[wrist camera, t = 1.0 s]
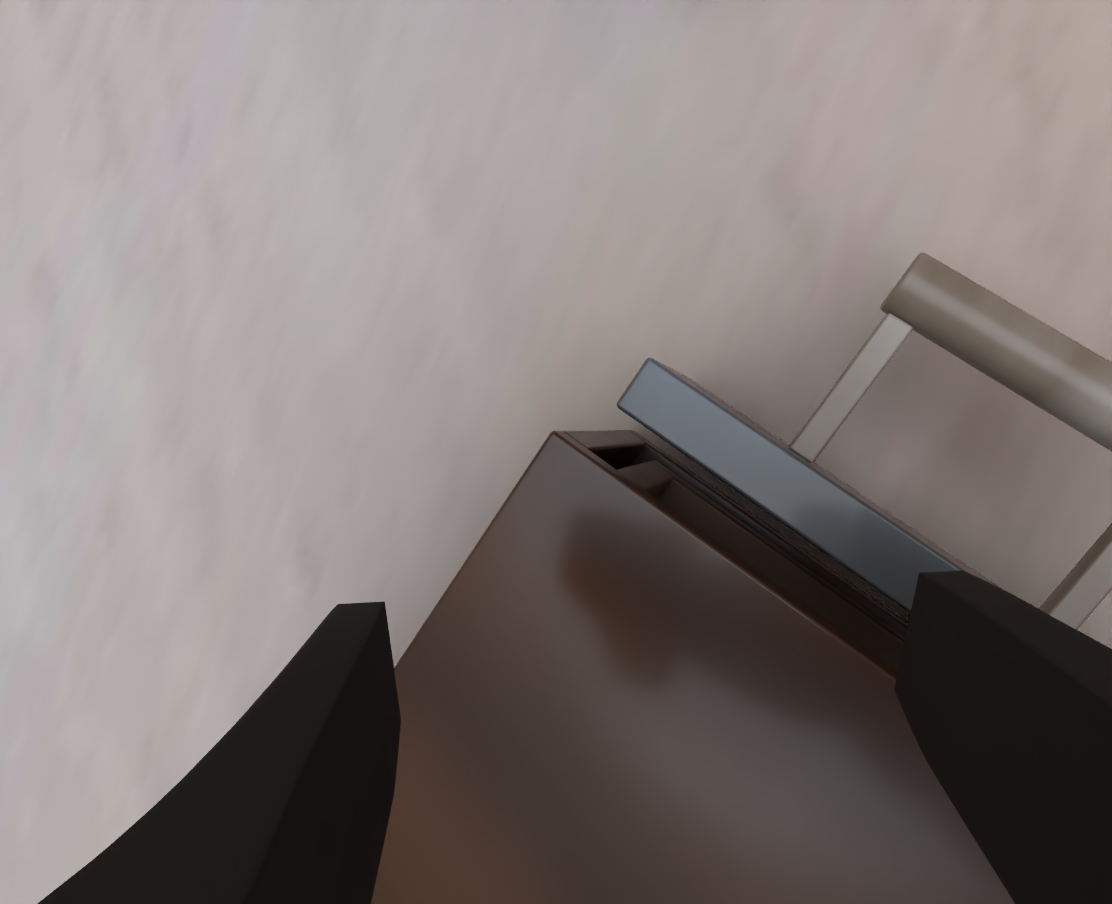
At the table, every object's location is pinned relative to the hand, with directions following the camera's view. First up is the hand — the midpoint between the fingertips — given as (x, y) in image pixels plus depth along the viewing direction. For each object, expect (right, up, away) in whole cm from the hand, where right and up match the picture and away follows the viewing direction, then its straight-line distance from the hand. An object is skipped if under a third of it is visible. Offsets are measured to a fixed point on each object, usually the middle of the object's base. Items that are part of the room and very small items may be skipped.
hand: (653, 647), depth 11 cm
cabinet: (+3, -6, +12) cm, 14 cm away
